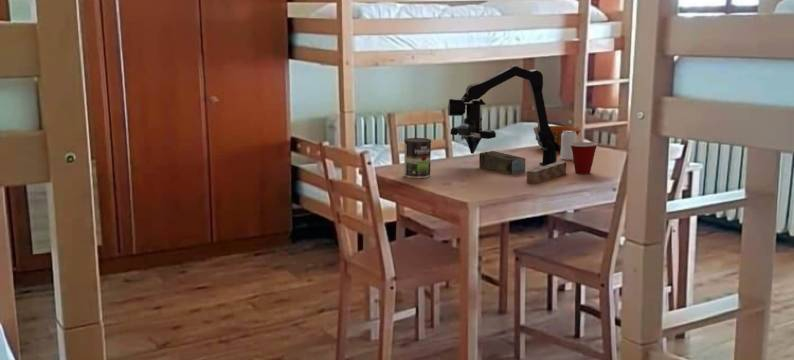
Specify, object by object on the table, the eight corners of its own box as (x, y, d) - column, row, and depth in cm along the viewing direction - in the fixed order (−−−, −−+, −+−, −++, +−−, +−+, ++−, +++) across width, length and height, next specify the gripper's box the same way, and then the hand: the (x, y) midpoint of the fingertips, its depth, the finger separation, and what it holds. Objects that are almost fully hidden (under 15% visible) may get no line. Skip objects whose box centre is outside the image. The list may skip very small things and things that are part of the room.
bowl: (537, 144, 388) (538, 123, 385) (583, 147, 380) (584, 126, 378) (528, 151, 369) (529, 129, 366) (575, 154, 361) (576, 132, 359)
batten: (559, 172, 323) (559, 161, 322) (565, 173, 321) (566, 162, 320) (526, 183, 303) (527, 171, 302) (533, 184, 301) (534, 172, 300)
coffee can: (435, 177, 313) (436, 140, 310) (411, 179, 308) (412, 142, 305) (422, 172, 322) (422, 136, 319) (399, 174, 317) (399, 138, 314)
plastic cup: (578, 169, 330) (579, 139, 327) (601, 172, 322) (603, 142, 320) (562, 172, 322) (564, 142, 320) (586, 176, 315) (587, 146, 312)
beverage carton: (511, 175, 318) (512, 158, 316) (477, 167, 333) (478, 151, 331) (525, 172, 322) (526, 156, 321) (492, 165, 337) (492, 149, 336)
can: (577, 158, 352) (579, 130, 350) (572, 160, 347) (573, 132, 344) (563, 156, 356) (565, 129, 353) (558, 159, 350) (559, 131, 348)
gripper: (443, 115, 331) (442, 153, 334) (482, 119, 320) (481, 158, 323) (458, 113, 339) (457, 150, 343) (496, 116, 328) (495, 155, 331)
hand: (472, 153), depth 335 cm, fingers closed
